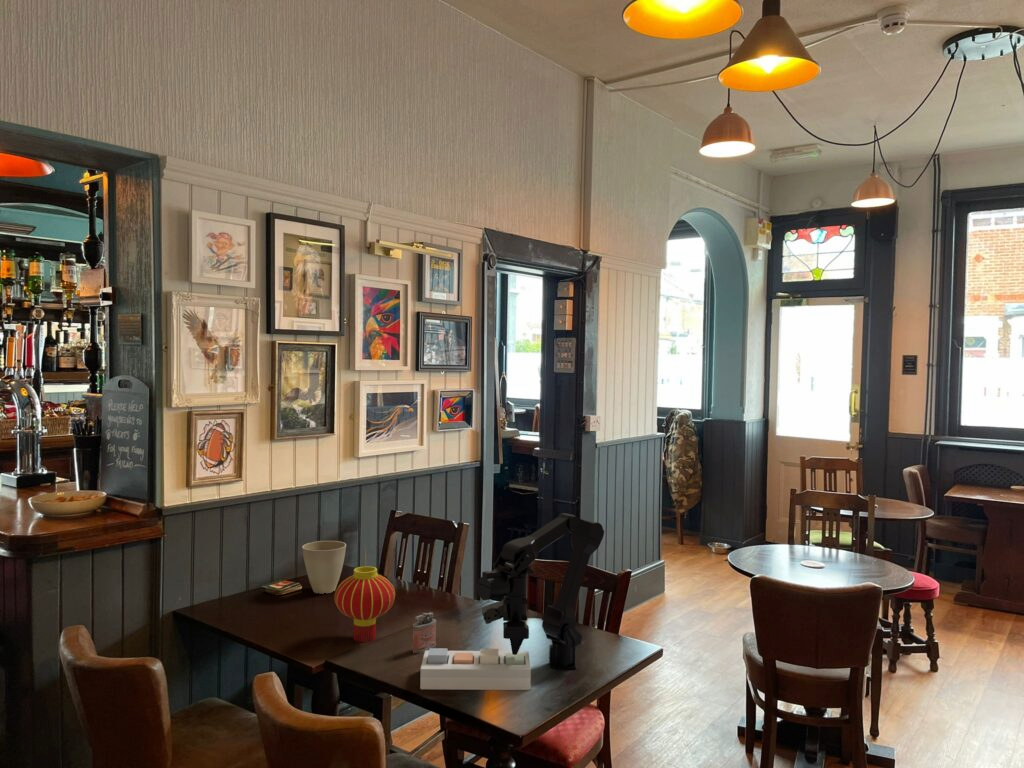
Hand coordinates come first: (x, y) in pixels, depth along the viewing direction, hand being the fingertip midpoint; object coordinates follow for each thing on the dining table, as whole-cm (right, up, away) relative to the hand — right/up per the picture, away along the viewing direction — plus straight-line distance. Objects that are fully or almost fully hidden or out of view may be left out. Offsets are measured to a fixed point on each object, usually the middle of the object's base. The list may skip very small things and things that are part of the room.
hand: (514, 654), depth 191 cm
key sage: (0, -3, 0) cm, 3 cm away
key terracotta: (-13, -3, 0) cm, 13 cm away
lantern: (-43, -5, +27) cm, 52 cm away
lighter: (-25, -6, +20) cm, 33 cm away
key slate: (-19, -2, 0) cm, 20 cm away
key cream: (-6, -2, 0) cm, 7 cm away
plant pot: (-66, -4, +72) cm, 98 cm away
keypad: (-10, -6, 0) cm, 12 cm away
